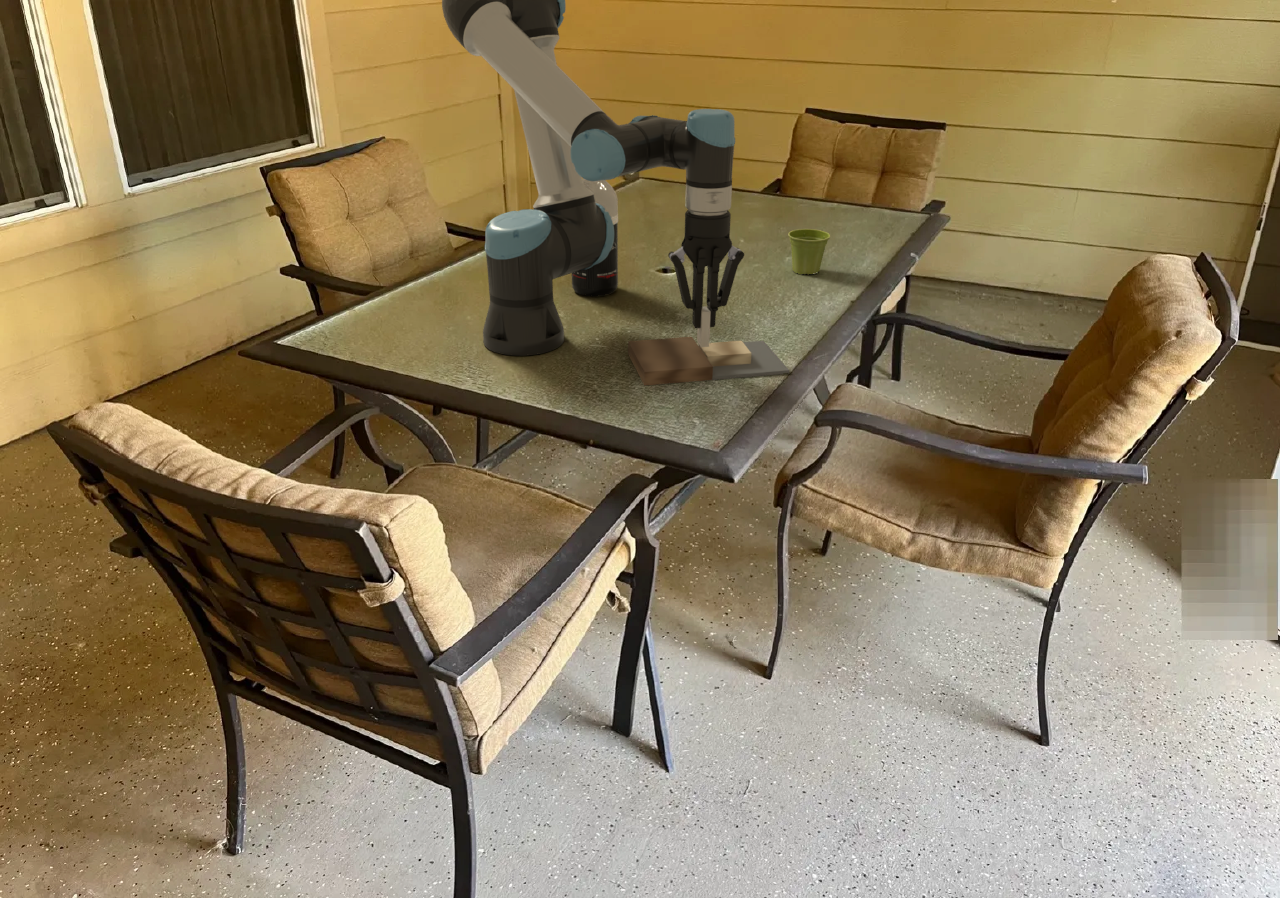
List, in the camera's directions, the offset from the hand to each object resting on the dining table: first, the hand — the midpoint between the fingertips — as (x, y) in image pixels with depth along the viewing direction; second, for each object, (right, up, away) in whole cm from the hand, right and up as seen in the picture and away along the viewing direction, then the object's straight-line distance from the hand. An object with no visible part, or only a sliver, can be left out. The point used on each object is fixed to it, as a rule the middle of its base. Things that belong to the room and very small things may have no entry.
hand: (703, 344), depth 161 cm
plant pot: (+27, +22, +50) cm, 61 cm away
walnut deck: (-6, -4, +1) cm, 7 cm away
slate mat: (+7, -3, +3) cm, 8 cm away
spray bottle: (-21, +16, +37) cm, 45 cm away
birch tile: (+4, -2, +3) cm, 5 cm away
